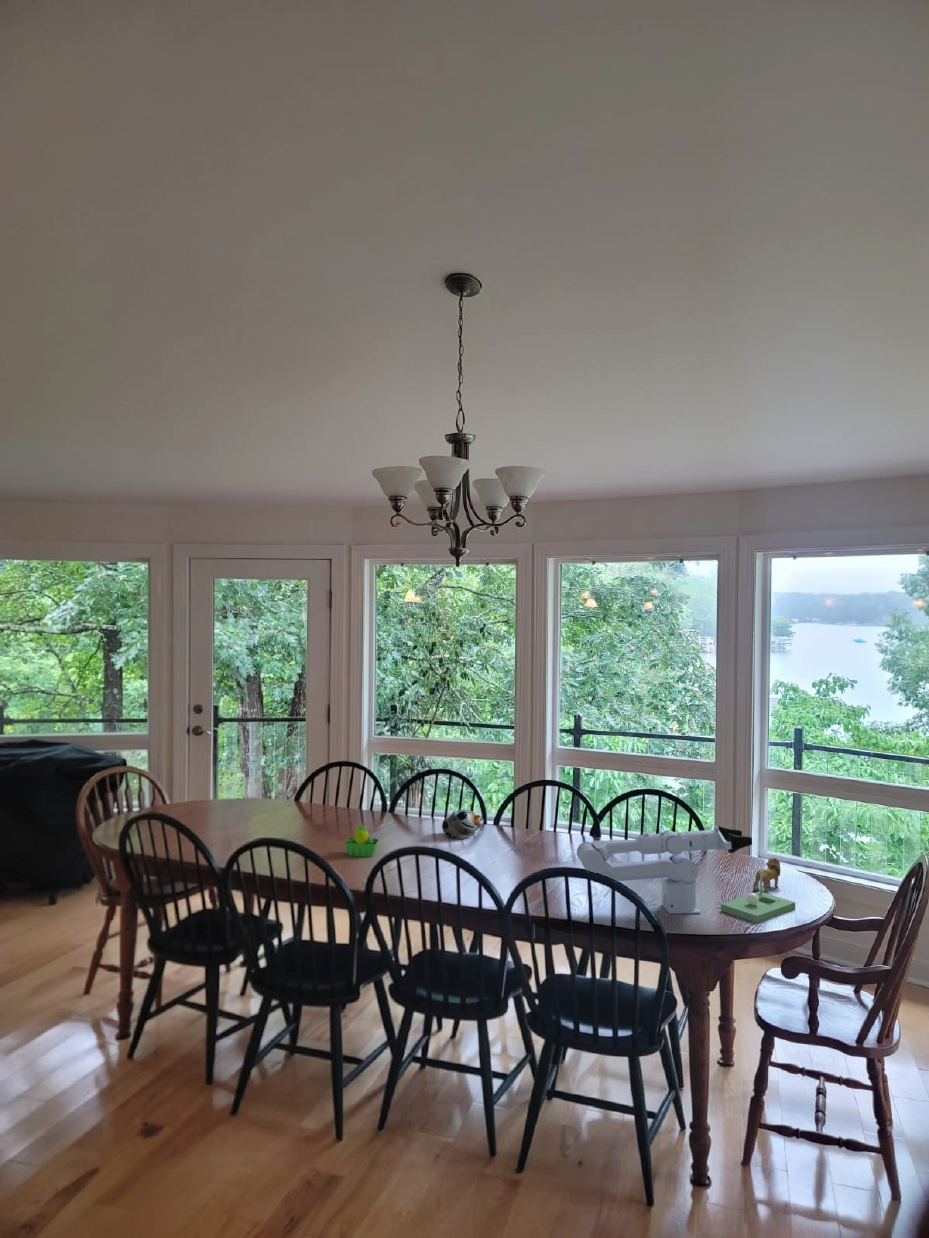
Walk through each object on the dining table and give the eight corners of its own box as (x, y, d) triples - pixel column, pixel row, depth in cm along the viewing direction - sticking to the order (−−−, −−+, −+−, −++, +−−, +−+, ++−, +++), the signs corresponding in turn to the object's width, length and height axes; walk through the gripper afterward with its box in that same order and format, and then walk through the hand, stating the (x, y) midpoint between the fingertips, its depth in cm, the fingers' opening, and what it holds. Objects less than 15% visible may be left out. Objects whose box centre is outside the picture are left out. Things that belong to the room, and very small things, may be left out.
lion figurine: (767, 881, 260) (767, 854, 260) (783, 885, 256) (783, 858, 256) (749, 891, 249) (749, 863, 249) (766, 895, 245) (766, 867, 245)
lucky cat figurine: (473, 830, 322) (485, 804, 317) (475, 849, 310) (488, 822, 306) (439, 821, 319) (451, 794, 314) (440, 840, 308) (452, 812, 303)
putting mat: (757, 922, 222) (757, 891, 222) (721, 910, 231) (721, 880, 231) (798, 907, 234) (798, 877, 235) (762, 896, 244) (762, 868, 244)
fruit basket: (379, 852, 289) (379, 821, 289) (374, 859, 280) (374, 827, 280) (349, 851, 290) (349, 820, 290) (343, 857, 281) (343, 826, 281)
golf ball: (749, 907, 229) (749, 895, 229) (744, 902, 232) (744, 891, 232) (760, 907, 229) (760, 895, 229) (756, 902, 232) (756, 891, 232)
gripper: (709, 833, 225) (755, 830, 226) (693, 821, 240) (736, 818, 240) (710, 857, 225) (756, 854, 226) (694, 843, 240) (737, 841, 240)
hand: (746, 837), depth 233 cm, fingers open, 7 cm apart
